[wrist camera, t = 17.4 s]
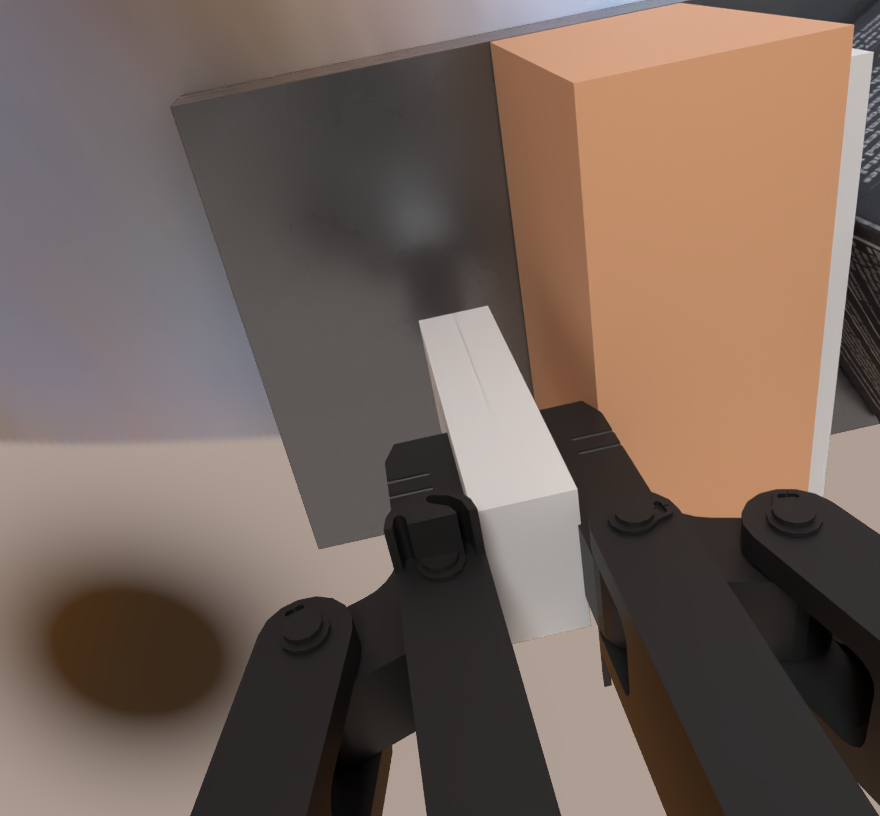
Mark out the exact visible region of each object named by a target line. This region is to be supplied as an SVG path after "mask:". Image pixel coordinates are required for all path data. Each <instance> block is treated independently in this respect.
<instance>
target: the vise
mask: <svg viewBox="0 0 880 816" xmlns="http://www.w3.org/2000/svg"><path fill="white" fill-rule="evenodd" d="M879 1H880V0H645V1H640V2H635V3H630V4H625V5H620V6H616V7H611V8H606V9H601V10H596V11H591V12H586V13H581V14H577V15H572V16H567V17H562V18H557V19H552V20H547V21H543V22H538V23H533V24H528V25H523V26H518V27H513V28H508V29H504V30H499V31H494V32H489V33H484V34H479V35H474V36H469V37H465V38H460V39H455V40H450V41H445V42H440V43H435V44H430V45H426V46H421V47H416V48H411V49H406V50H401V51H396V52H391V53H387V54H382V55H377V56H372V57H367V58H362V59H357V60H352V61H348V62H343V63H338V64H333V65H328V66H323V67H318V68H314V69H309V70H304V71H299V72H294V73H289V74H284V75H279V76H275V77H270V78H265V79H260V80H255V81H250V82H245V83H240V84H236V85H231V86H226V87H221V88H216V89H211V90H206V91H201V92H197V93H192V94H187V95H182V96H181V97H180V98H179V99H178V100H177V101H176V102H175V103H174V104H173V105H172V106H171V110H172V113H173V116H174V119H175V122H176V125H177V128H178V131H179V134H180V137H181V140H182V143H183V146H184V149H185V152H186V155H187V158H188V161H189V164H190V167H191V170H192V173H193V176H194V179H195V182H196V185H197V188H198V191H199V194H200V197H201V200H202V203H203V206H204V209H205V212H206V215H207V218H208V221H209V224H210V227H211V230H212V233H213V236H214V239H215V241H216V244H217V247H218V250H219V253H220V256H221V259H222V262H223V265H224V268H225V271H226V274H227V277H228V280H229V283H230V286H231V289H232V292H233V295H234V298H235V301H236V304H237V307H238V310H239V313H240V316H241V319H242V322H243V325H244V328H245V331H246V334H247V337H248V340H249V343H250V346H251V349H252V352H253V355H254V358H255V361H256V364H257V367H258V370H259V373H260V376H261V379H262V382H263V385H264V388H265V390H266V393H267V396H268V399H269V402H270V405H271V408H272V411H273V414H274V417H275V420H276V423H277V426H278V429H279V432H280V435H281V438H282V441H283V444H284V447H285V450H286V453H287V456H288V459H289V462H290V465H291V468H292V471H293V474H294V477H295V480H296V483H297V486H298V489H299V492H300V495H301V498H302V500H303V504H304V507H305V510H306V513H307V515H308V518H309V522H310V524H311V527H312V530H313V534H314V536H315V539H316V542H317V545H318V548H319V549H322V548H327V547H331V546H335V545H340V544H344V543H349V542H354V541H358V540H362V539H367V538H371V537H376V536H381V535H385V534H384V530H383V529H384V524H385V518H386V516H387V515H388V514H389V512H390V511H391V506H390V498H389V491H388V483H387V476H386V469H385V461H386V459H387V457H388V455H389V453H390V451H391V449H392V447H393V445H394V444H397V443H402V442H406V441H411V440H415V439H420V438H424V437H429V436H433V435H438V434H442V431H441V427H440V423H439V418H438V413H437V408H436V403H435V398H434V393H433V389H432V384H431V379H430V374H429V369H428V364H427V359H426V354H425V350H424V345H423V340H422V335H421V330H420V325H419V320H424V319H429V318H433V317H438V316H442V315H447V314H452V313H456V312H461V311H465V310H470V309H474V308H479V307H484V306H488V307H489V309H490V311H491V313H492V315H493V317H494V319H495V321H496V323H497V326H498V328H499V330H500V332H501V334H502V336H503V338H504V340H505V342H506V344H507V346H508V348H509V350H510V352H511V354H512V356H513V358H514V360H515V362H516V364H517V366H518V368H519V371H520V373H521V375H522V377H523V379H524V381H525V383H526V385H527V387H528V389H529V391H530V393H531V395H532V397H533V399H534V391H533V383H532V375H531V367H530V359H529V351H528V343H527V335H526V327H525V319H524V311H523V303H522V295H521V287H520V279H519V271H518V263H517V255H516V247H515V239H514V231H513V223H512V215H511V207H510V199H509V191H508V183H507V175H506V167H505V159H504V151H503V143H502V135H501V127H500V119H499V111H498V103H497V95H496V87H495V79H494V70H493V62H492V54H491V46H490V42H492V41H497V40H502V39H507V38H511V37H516V36H521V35H526V34H531V33H536V32H541V31H545V30H550V29H555V28H560V27H565V26H570V25H575V24H580V23H584V22H589V21H594V20H599V19H604V18H609V17H614V16H618V15H623V14H628V13H633V12H638V11H643V10H648V9H652V8H657V7H662V6H667V5H672V4H677V3H686V4H694V5H702V6H709V7H717V8H725V9H733V10H741V11H749V12H757V13H765V14H773V15H781V16H789V17H797V18H805V19H813V20H821V21H829V22H837V23H845V24H853V23H854V22H856V21H857V20H858V19H859V18H861V17H862V16H863V15H864V14H865V13H867V12H868V11H869V10H870V9H871V8H872V7H873V6H875V5H876V4H877V3H878V2H879ZM534 401H535V399H534ZM876 424H880V423H879V421H878V419H877V417H876V416H875V414H874V413H873V411H872V410H871V409H870V407H869V406H868V404H867V402H866V401H865V400H864V398H863V397H862V396H861V394H860V393H859V391H858V390H857V388H856V387H855V385H854V384H853V383H852V381H851V380H850V378H849V376H848V375H847V374H846V373H845V372H844V370H843V368H842V366H841V364H840V363H838V372H837V381H836V390H835V399H834V408H833V416H832V425H831V434H836V433H840V432H845V431H849V430H854V429H858V428H863V427H867V426H871V425H876ZM831 434H830V435H831Z"/></svg>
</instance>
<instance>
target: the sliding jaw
mask: <svg viewBox="0 0 880 816" xmlns="http://www.w3.org/2000/svg"><path fill="white" fill-rule="evenodd" d="M853 34H854V25H852V24H845V23H837V22H829V21H821V20H813V19H805V18H797V17H789V16H781V15H773V14H765V13H757V12H749V11H741V10H733V9H725V8H717V7H709V6H702V5H694V4H686V3H677V4H672V5H667V6H662V7H657V8H652V9H648V10H643V11H638V12H633V13H628V14H623V15H618V16H614V17H609V18H604V19H599V20H594V21H589V22H584V23H580V24H575V25H570V26H565V27H560V28H555V29H550V30H545V31H541V32H536V33H531V34H526V35H521V36H516V37H511V38H507V39H502V40H497V41H492V42H490V46H491V54H492V62H493V70H494V79H495V87H496V95H497V103H498V111H499V119H500V127H501V135H502V143H503V151H504V159H505V167H506V175H507V183H508V191H509V199H510V207H511V215H512V223H513V231H514V239H515V247H516V255H517V263H518V271H519V279H520V287H521V295H522V303H523V311H524V319H525V327H526V335H527V343H528V351H529V359H530V367H531V375H532V383H533V391H534V399H535V403H536V405H537V407H538V409H539V410H542V409H546V408H551V407H555V406H560V405H564V404H569V403H573V402H578V401H583V402H585V403H587V404H588V405H590V406H592V407H593V408H595V409H597V410H599V411H600V412H602V414H603V415H604V417H605V418H606V420H607V422H608V423H609V425H610V426H611V428H612V431H613V432H614V433H615V434H616V436H617V438H618V439H619V441H620V443H621V446H623V447H624V449H625V450H626V452H627V454H628V455H629V457H630V458H631V460H632V462H633V463H634V465H635V466H636V468H637V470H638V471H639V473H640V474H641V476H642V478H643V479H644V481H645V482H646V484H647V486H648V487H649V489H650V490H651V492H654V493H656V494H659V495H661V496H663V497H665V498H668V499H669V500H670V501H672V502H673V503H674V504H675V505H676V506H677V507H678V508H679V509H680V511H681V512H682V513H683V514H687V515H692V516H697V517H709V518H741V513H742V511H743V509H744V507H745V505H746V503H747V501H749V500H750V499H752V498H753V497H755V496H756V495H758V494H759V493H763V492H767V491H771V490H775V489H797V490H802V491H806V492H811V493H815V494H817V495H819V496H821V497H823V496H824V487H825V478H826V469H827V461H828V451H829V443H830V434H831V425H832V416H833V408H834V399H835V390H836V381H837V372H838V363H839V355H840V346H841V337H842V328H843V319H844V310H845V302H846V293H847V284H848V275H849V266H850V258H851V249H852V240H853V231H854V222H855V213H856V205H857V196H858V187H859V178H860V169H861V160H862V152H863V143H864V134H865V125H866V116H867V107H868V99H869V90H870V81H871V72H872V63H873V54H874V52H871V51H865V50H859V49H854V48H852V44H853Z"/></svg>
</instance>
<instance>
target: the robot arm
mask: <svg viewBox="0 0 880 816" xmlns="http://www.w3.org/2000/svg"><path fill="white" fill-rule="evenodd" d="M419 325H420V330H421V335H422V340H423V345H424V350H425V354H426V359H427V364H428V369H429V374H430V379H431V384H432V389H433V393H434V398H435V403H436V408H437V413H438V418H439V423H440V427H441V431H442V434H438V435H433V436H429V437H424V438H420V439H415V440H411V441H406V442H402V443H397V444H394V445H393V447H392V449H391V451H390V453H389V455H388V457H387V459H386V461H385V469H386V476H387V483H388V491H389V498H390V506H391V511H390V512H389V514H388V515H387V516H386V518H385V524H384V529H383V530H384V534H385V538H386V541H387V545H388V549H389V552H390V556H391V560H392V563H393V567H394V570H393V573H392V574H391V576H390V577H389V578H388V580H387V581H386V582H385V583H384V584H383V585H382V586H381V587H380V588H379V589H378V590H377V591H375V592H374V593H372V594H370V595H369V596H367V597H365V598H364V599H362V600H360V601H358V602H356V603H354V604H352V605H350V606H348V607H346V606H345V605H344V604H342V603H340V602H338V601H337V600H335V599H333V598H325V597H311V598H306V599H301V600H297V601H295V602H293V603H291V604H289V605H287V606H285V607H283V608H281V609H280V610H279V611H278V612H277V613H275V614H274V615H273V616H272V617H271V618H270V619H268V620H267V622H266V623H265V625H264V627H263V628H262V630H261V632H260V634H259V635H258V637H257V640H256V643H255V645H254V648H253V651H252V653H251V656H250V659H249V661H248V664H247V667H246V669H245V672H244V674H243V678H242V680H241V682H240V685H239V688H238V690H237V693H236V696H235V698H234V701H233V704H232V706H231V709H230V712H229V714H228V717H227V720H226V722H225V725H224V728H223V730H222V733H221V736H220V738H219V741H218V744H217V746H216V749H215V752H214V754H213V757H212V759H211V762H210V765H209V767H208V770H207V773H206V775H205V778H204V781H203V783H202V786H201V789H200V791H199V794H198V797H197V799H196V802H195V805H194V807H193V810H192V813H191V815H190V816H382V812H383V806H384V800H385V794H386V787H387V782H388V775H389V770H390V763H391V757H392V745H393V744H395V743H396V742H398V741H400V740H401V739H403V738H405V737H406V736H408V735H410V734H412V733H414V732H415V731H416V735H417V743H418V750H419V759H420V766H421V774H422V782H423V790H424V797H425V805H426V813H427V816H561V814H560V811H559V807H558V803H557V800H556V796H555V793H554V789H553V786H552V782H551V779H550V775H549V772H548V768H547V765H546V761H545V758H544V754H543V751H542V747H541V744H540V741H539V737H538V733H537V730H536V726H535V723H534V720H533V716H532V713H531V710H530V706H529V702H528V699H527V695H526V692H525V688H524V685H523V681H522V678H521V674H520V671H519V667H518V664H517V660H516V657H515V653H514V650H513V646H512V644H515V643H520V642H524V641H528V640H533V639H537V638H541V637H546V636H550V635H554V634H558V633H563V632H567V631H571V630H576V629H580V628H584V627H589V626H591V620H590V611H589V606H590V608H591V611H592V613H593V615H594V618H595V620H596V623H597V625H598V629H599V640H600V650H601V661H602V672H603V679H604V686H605V687H606V686H610V685H611V678H612V681H613V683H614V686H615V688H616V691H617V693H618V696H619V698H620V701H621V703H622V706H623V708H624V710H625V713H626V715H627V718H628V720H629V723H630V725H631V728H632V730H633V733H634V735H635V738H636V740H637V743H638V745H639V747H640V750H641V752H642V755H643V757H644V760H645V762H646V765H647V767H648V770H649V772H650V774H651V777H652V780H653V782H654V785H655V787H656V790H657V792H658V795H659V797H660V800H661V802H662V804H663V807H664V809H665V812H666V814H667V816H879V815H878V813H877V812H876V810H875V809H874V807H873V806H872V804H871V803H870V801H869V800H868V798H867V797H866V795H865V794H864V792H863V790H862V789H861V788H860V786H862V788H863V789H864V790H865V791H866V792H867V793H868V794H869V795H870V796H871V797H872V798H873V799H874V800H875V801H876V802H877V803H878V804H879V805H880V534H878V533H877V532H875V531H874V530H872V529H871V528H869V527H868V526H866V525H865V524H864V523H862V522H861V521H859V520H858V519H856V518H855V517H854V516H852V515H850V514H849V513H848V512H846V511H845V510H843V509H842V508H840V507H839V506H837V505H836V504H835V503H833V502H831V501H829V500H827V499H825V498H823V497H821V496H819V495H817V494H815V493H811V492H806V491H802V490H797V489H775V490H771V491H767V492H763V493H759V494H758V495H756V496H755V497H753V498H752V499H750V500H749V501H747V503H746V505H745V507H744V509H743V511H742V513H741V518H709V517H697V516H692V515H687V514H683V513H682V512H681V511H680V509H679V508H678V507H677V506H676V505H675V504H674V503H673V502H672V501H670V500H669V499H668V498H665V497H663V496H661V495H659V494H656V493H654V492H651V490H650V489H649V487H648V486H647V484H646V482H645V481H644V479H643V478H642V476H641V474H640V473H639V471H638V470H637V468H636V466H635V465H634V463H633V462H632V460H631V458H630V457H629V455H628V454H627V452H626V450H625V449H624V447H623V446H621V443H620V441H619V439H618V438H617V436H616V434H615V433H614V432H613V431H612V428H611V426H610V425H609V423H608V422H607V420H606V418H605V417H604V415H603V414H602V412H600V411H599V410H597V409H595V408H593V407H592V406H590V405H588V404H587V403H585V402H583V401H578V402H573V403H569V404H564V405H560V406H555V407H551V408H546V409H542V410H539V409H538V407H537V405H536V403H535V401H534V399H533V397H532V395H531V393H530V391H529V389H528V387H527V385H526V383H525V381H524V379H523V377H522V375H521V373H520V371H519V368H518V366H517V364H516V362H515V360H514V358H513V356H512V354H511V352H510V350H509V348H508V346H507V344H506V342H505V340H504V338H503V336H502V334H501V332H500V330H499V328H498V326H497V323H496V321H495V319H494V317H493V315H492V313H491V311H490V309H489V307H488V306H484V307H479V308H474V309H470V310H465V311H461V312H456V313H452V314H447V315H442V316H438V317H433V318H429V319H424V320H419ZM857 782H858V783H859V784H860V786H859V784H858V783H857Z"/></svg>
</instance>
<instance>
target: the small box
mask: <svg viewBox="0 0 880 816" xmlns="http://www.w3.org/2000/svg"><path fill="white" fill-rule="evenodd" d="M852 25H854V34H853V44H852V48H854V49H859V50H865V51H871V52H874V54H873V63H872V72H871V81H870V90H869V99H868V107H867V116H866V125H865V134H864V143H863V152H862V160H861V169H860V178H859V187H858V196H857V205H856V213H855V222H854V231H853V240H852V249H851V258H850V266H849V275H848V284H847V293H846V302H845V310H844V319H843V328H842V337H841V346H840V355H839V363H840V364H841V366H842V368H843V370H844V372H845V373H846V374H847V375H848V376H849V378H850V380H851V381H852V383H853V384H854V385H855V387H856V388H857V390H858V391H859V393H860V394H861V396H862V397H863V398H864V400H865V401H866V402H867V404H868V406H869V407H870V409H871V410H872V411H873V413H874V414H875V416H876V417H877V419H878V421H879V423H880V1H879V2H878V3H877V4H876V5H875V6H873V7H872V8H871V9H870V10H869V11H868V12H867V13H865V14H864V15H863V16H862V17H861V18H859V19H858V20H857V21H856V22H854V23H853V24H852Z"/></svg>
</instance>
